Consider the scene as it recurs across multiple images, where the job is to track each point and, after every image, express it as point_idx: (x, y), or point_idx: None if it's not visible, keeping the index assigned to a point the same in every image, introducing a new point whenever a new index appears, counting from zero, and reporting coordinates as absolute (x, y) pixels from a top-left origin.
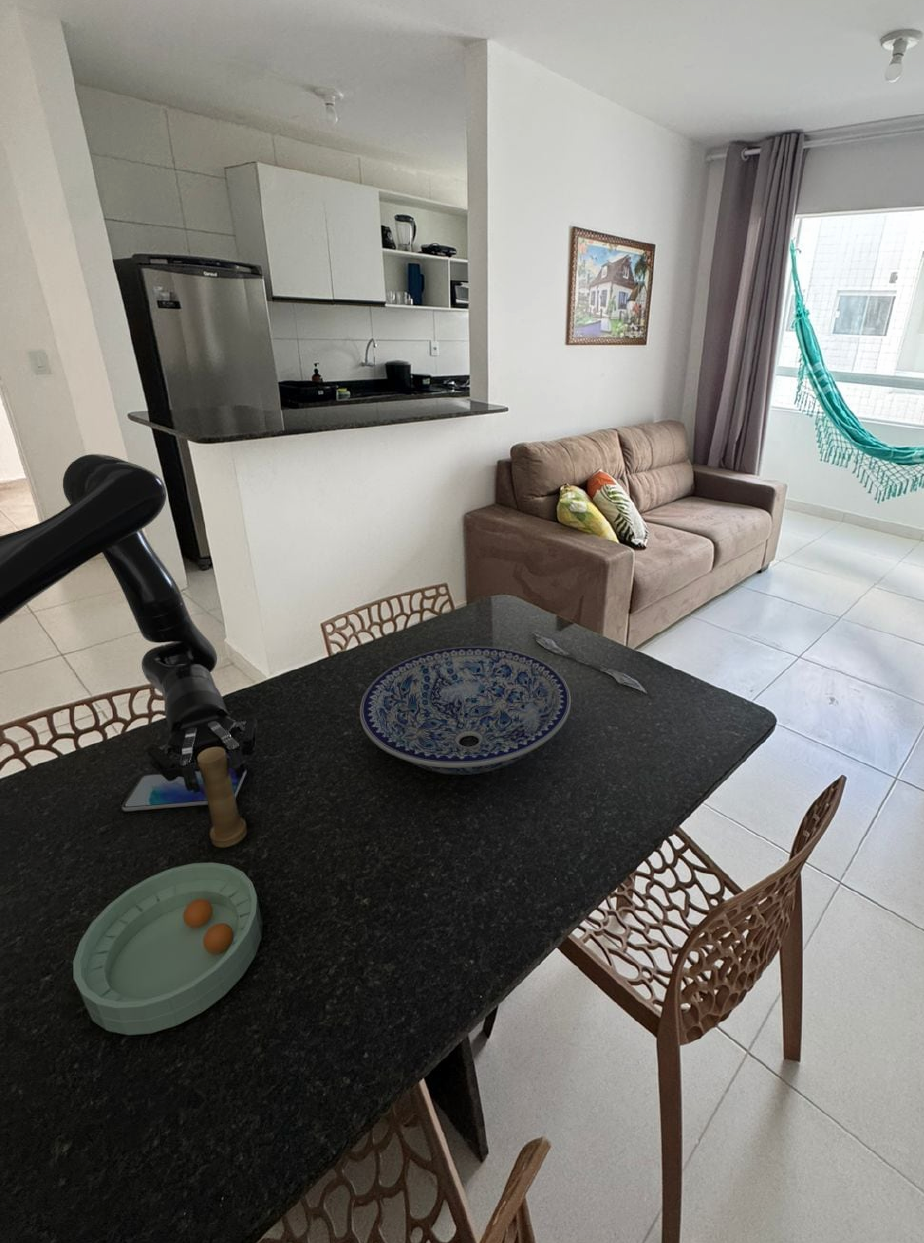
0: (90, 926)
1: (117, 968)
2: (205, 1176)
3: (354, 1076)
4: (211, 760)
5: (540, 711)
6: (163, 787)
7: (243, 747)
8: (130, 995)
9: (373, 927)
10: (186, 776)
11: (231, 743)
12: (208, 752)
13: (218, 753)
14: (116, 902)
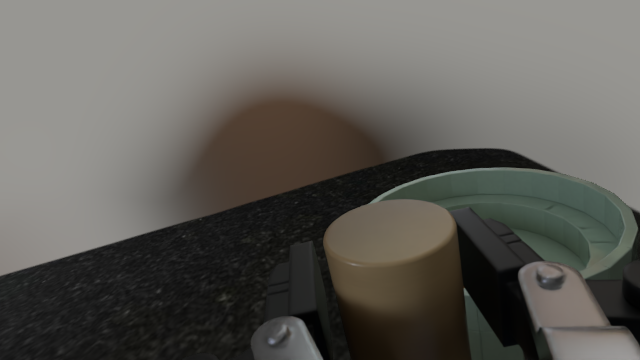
0: (633, 222)
1: (575, 266)
2: (410, 172)
3: (308, 196)
4: (384, 206)
5: None
6: None
7: (241, 357)
8: (529, 240)
9: (236, 270)
10: (504, 236)
11: (287, 353)
12: (402, 236)
13: (353, 227)
14: (614, 249)
